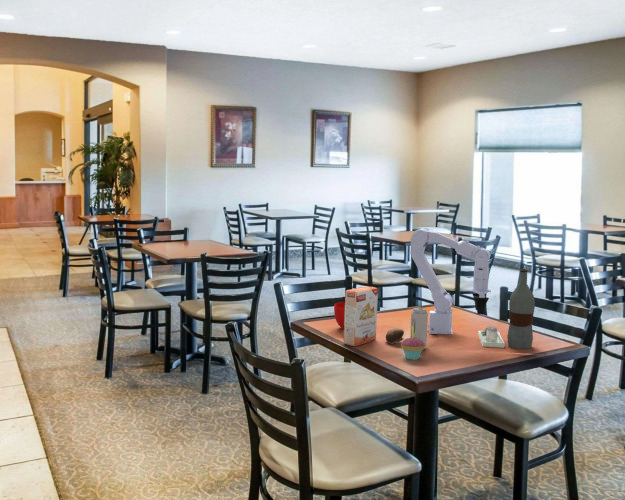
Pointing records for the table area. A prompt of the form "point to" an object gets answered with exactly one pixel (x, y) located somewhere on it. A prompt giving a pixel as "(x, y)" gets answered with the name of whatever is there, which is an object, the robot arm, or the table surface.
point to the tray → (491, 344)
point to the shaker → (491, 334)
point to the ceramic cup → (340, 313)
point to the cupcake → (412, 346)
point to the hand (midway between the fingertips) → (479, 312)
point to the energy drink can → (419, 324)
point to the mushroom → (394, 335)
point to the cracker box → (360, 315)
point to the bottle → (521, 315)
